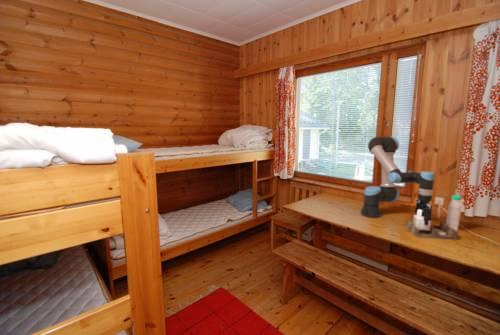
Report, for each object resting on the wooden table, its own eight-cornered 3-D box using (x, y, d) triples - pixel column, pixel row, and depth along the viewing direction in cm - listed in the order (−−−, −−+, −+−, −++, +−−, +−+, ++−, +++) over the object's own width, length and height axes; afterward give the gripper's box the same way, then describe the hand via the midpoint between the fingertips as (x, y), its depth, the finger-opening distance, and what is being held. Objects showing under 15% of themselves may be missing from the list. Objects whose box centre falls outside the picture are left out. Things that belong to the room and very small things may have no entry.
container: (425, 226, 168) (427, 208, 165) (430, 230, 160) (432, 212, 158) (412, 225, 170) (414, 207, 167) (416, 229, 162) (419, 211, 160)
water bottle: (442, 228, 173) (447, 195, 168) (448, 226, 175) (453, 194, 171) (453, 232, 166) (459, 198, 162) (460, 230, 169) (465, 196, 164)
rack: (404, 227, 176) (405, 219, 174) (440, 229, 172) (441, 221, 171) (416, 238, 158) (418, 230, 157) (457, 241, 154) (459, 232, 153)
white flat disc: (428, 229, 169) (428, 228, 168) (441, 230, 167) (441, 229, 167) (435, 235, 161) (435, 233, 160) (449, 236, 159) (449, 234, 159)
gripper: (411, 190, 171) (407, 219, 176) (427, 199, 151) (423, 232, 155) (422, 190, 170) (419, 220, 174) (441, 199, 150) (436, 233, 154)
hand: (421, 226), depth 165 cm, fingers closed on container, 8 cm apart
